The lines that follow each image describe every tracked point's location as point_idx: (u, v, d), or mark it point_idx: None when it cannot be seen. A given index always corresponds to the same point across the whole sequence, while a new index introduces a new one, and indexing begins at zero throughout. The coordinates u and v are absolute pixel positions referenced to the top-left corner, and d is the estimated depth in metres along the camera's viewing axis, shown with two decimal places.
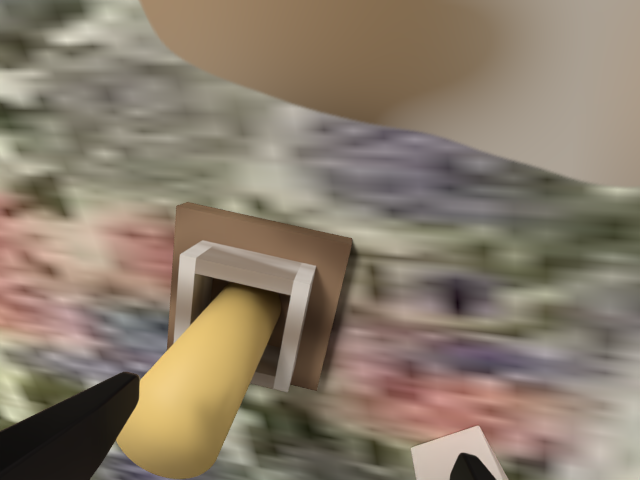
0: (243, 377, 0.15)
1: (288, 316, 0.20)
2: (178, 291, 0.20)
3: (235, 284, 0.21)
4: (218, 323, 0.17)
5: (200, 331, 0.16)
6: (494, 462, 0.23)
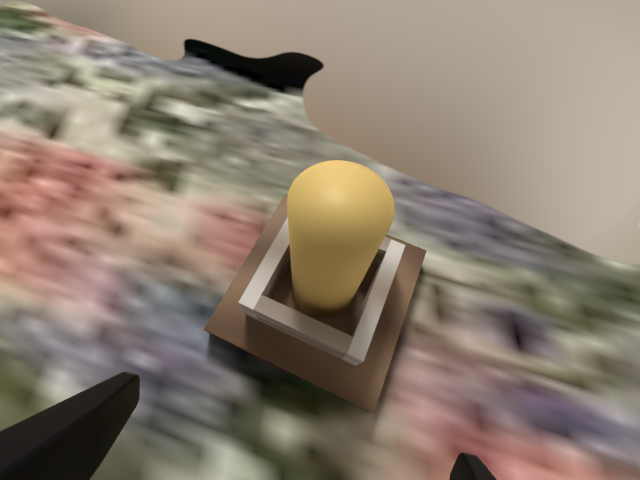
0: None
1: (380, 270, 0.21)
2: (282, 229, 0.21)
3: None
4: None
5: None
6: None
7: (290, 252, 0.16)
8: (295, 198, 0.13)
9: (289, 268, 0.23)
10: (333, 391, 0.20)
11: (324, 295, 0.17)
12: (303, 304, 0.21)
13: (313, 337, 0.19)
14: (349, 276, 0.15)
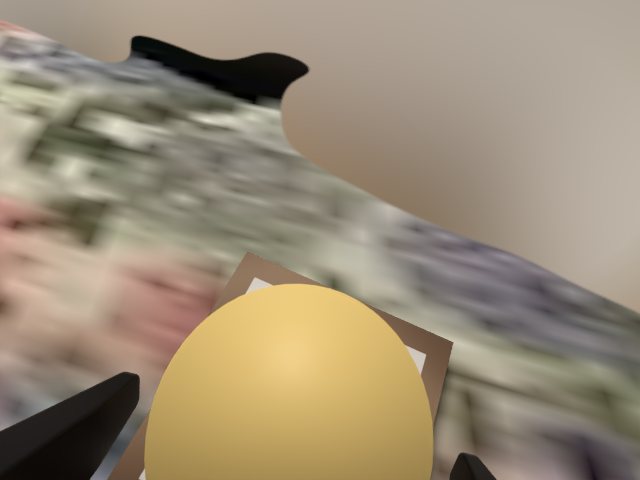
0: None
1: None
2: None
3: None
4: None
5: None
6: None
7: None
8: (173, 408, 0.05)
9: None
10: None
11: None
12: None
13: None
14: None
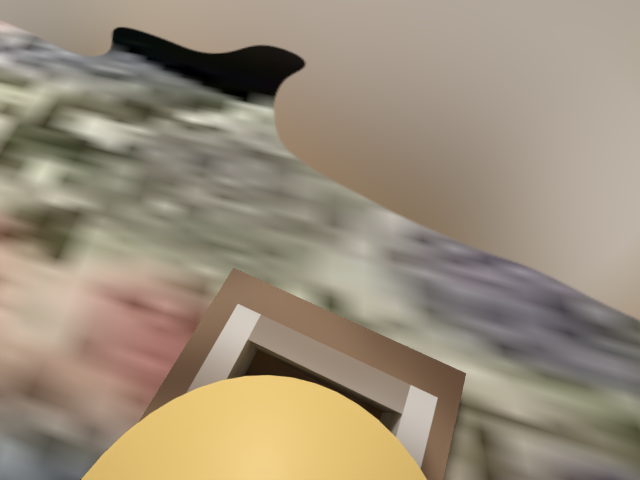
0: None
1: None
2: (203, 367, 0.11)
3: None
4: None
5: None
6: None
7: None
8: None
9: None
10: None
11: None
12: None
13: None
14: None
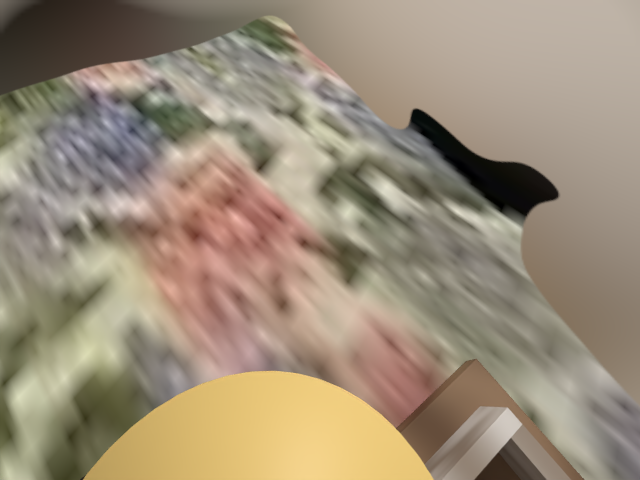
0: None
1: None
2: (479, 441, 0.17)
3: None
4: None
5: None
6: None
7: None
8: None
9: None
10: None
11: None
12: None
13: None
14: None
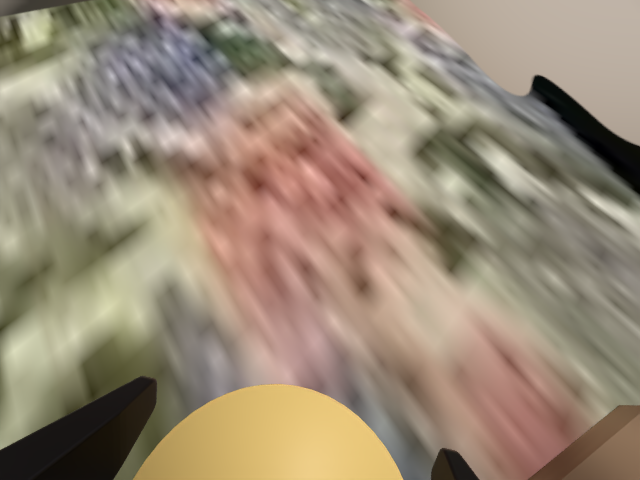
0: None
1: None
2: None
3: None
4: None
5: None
6: None
7: None
8: None
9: None
10: None
11: None
12: None
13: None
14: None
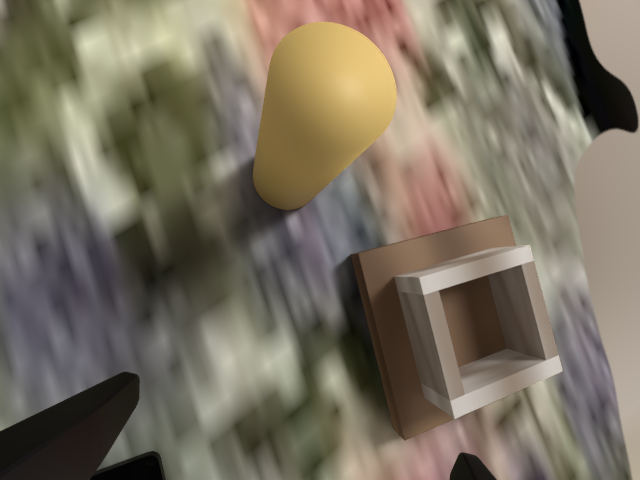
0: None
1: (528, 369, 0.19)
2: (498, 255, 0.19)
3: None
4: None
5: None
6: None
7: (260, 128, 0.14)
8: (282, 60, 0.10)
9: None
10: (395, 397, 0.20)
11: (285, 188, 0.16)
12: (260, 189, 0.19)
13: (440, 363, 0.18)
14: (319, 176, 0.13)
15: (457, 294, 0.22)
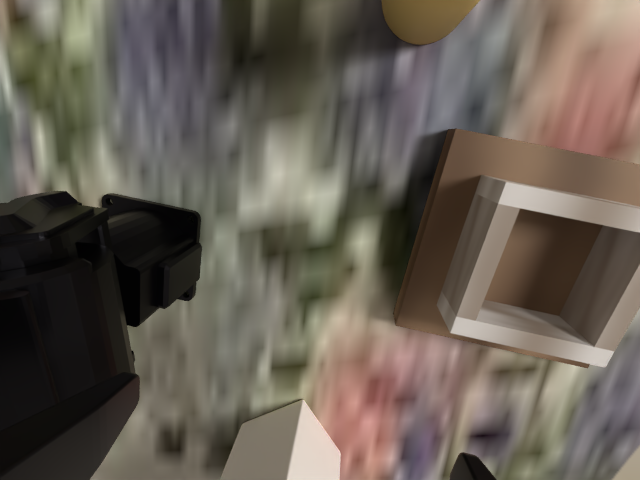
0: None
1: (565, 342, 0.16)
2: (631, 209, 0.14)
3: None
4: None
5: None
6: None
7: None
8: None
9: None
10: (408, 287, 0.20)
11: None
12: None
13: (470, 279, 0.16)
14: None
15: (543, 232, 0.18)
